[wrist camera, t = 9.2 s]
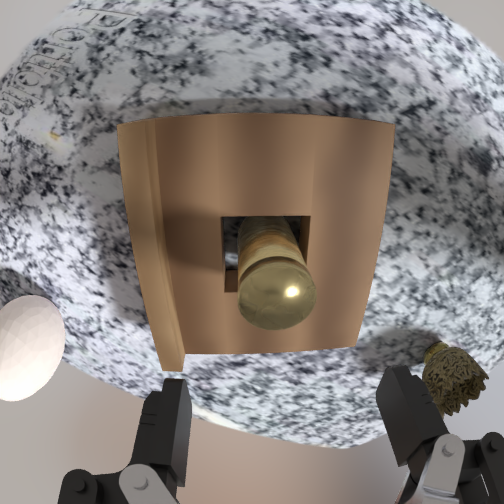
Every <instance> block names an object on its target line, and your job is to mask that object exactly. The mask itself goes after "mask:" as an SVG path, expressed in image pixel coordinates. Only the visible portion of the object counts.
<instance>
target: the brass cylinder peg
mask: <svg viewBox="0 0 504 504" xmlns="http://www.w3.org/2000/svg"><path fill="white" fill-rule="evenodd" d="M316 299H317V291H316V287H315V284H314V282H313V279H312V277H311V274H310V272H309V271H308V269H307V267H306V264H305V262H304V259H303V257H302V254H301V252H300V249H299V247H298V244H297V242H296V239H295V237H294V235H293V232H292V230H291V227H290V225H289V223H288V222H287V220H286V219H285V218H284V217H283V216H248V217H247V218H246V219H245V220H244V221H243V222H242V223H241V225H240V227H239V230H238V288H237V302H238V308H239V311H240V313H241V315H242V316H243V318H244V319H245V320H246V321H247V322H249V323H250V324H252V325H253V326H255V327H257V328H260V329H264V330H283V329H287V328H291V327H293V326H295V325H297V324H299V323H300V322H302V321H303V320H304V319H306V318H307V317H308V316H309V314H310V313H311V312H312V310H313V308H314V306H315V304H316Z"/></svg>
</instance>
